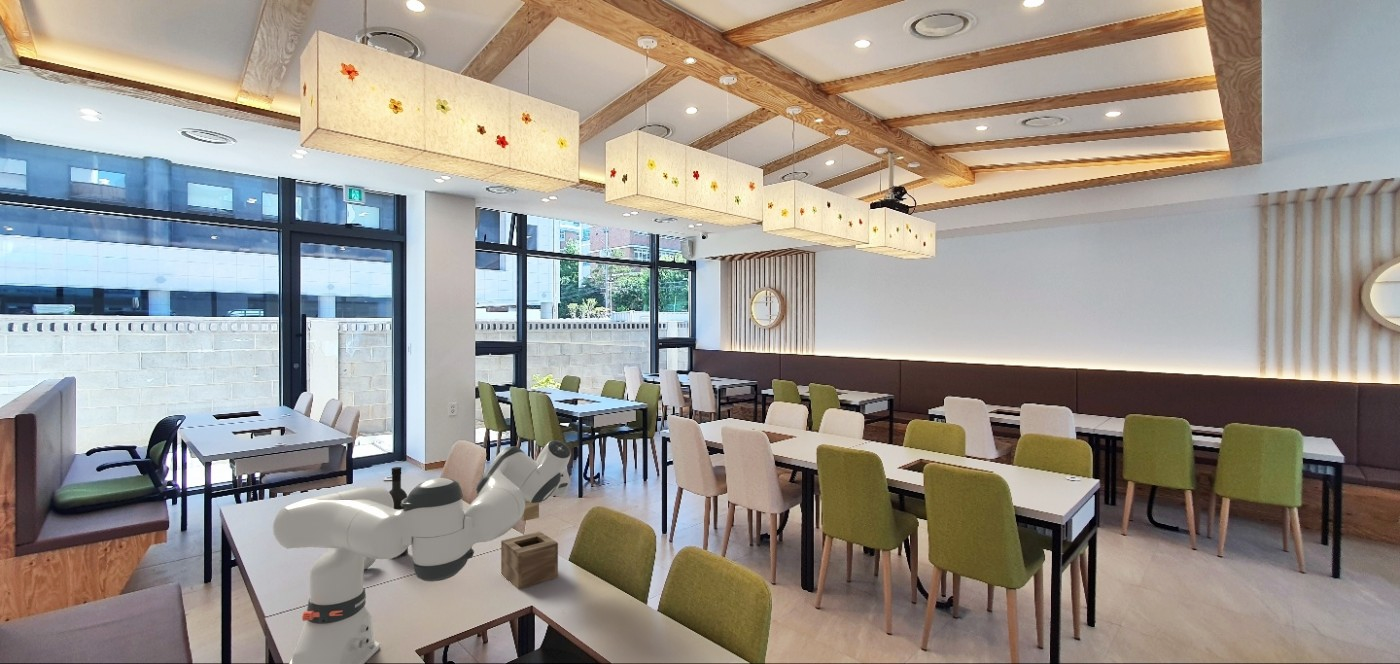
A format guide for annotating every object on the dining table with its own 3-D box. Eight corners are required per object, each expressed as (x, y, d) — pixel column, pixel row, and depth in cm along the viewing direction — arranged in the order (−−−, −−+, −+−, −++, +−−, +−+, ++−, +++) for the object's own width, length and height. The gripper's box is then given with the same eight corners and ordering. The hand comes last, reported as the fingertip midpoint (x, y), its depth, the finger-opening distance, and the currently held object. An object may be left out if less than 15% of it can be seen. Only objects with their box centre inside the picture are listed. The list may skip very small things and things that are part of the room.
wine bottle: (392, 559, 202) (392, 470, 202) (384, 555, 206) (384, 468, 205) (409, 554, 207) (408, 467, 206) (400, 550, 210) (400, 465, 210)
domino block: (539, 517, 190) (539, 492, 190) (523, 521, 187) (523, 495, 187) (534, 515, 192) (534, 490, 192) (519, 518, 189) (519, 493, 189)
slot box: (557, 577, 189) (557, 542, 189) (518, 589, 181) (518, 553, 181) (539, 564, 199) (539, 531, 199) (501, 575, 191) (501, 540, 191)
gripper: (512, 493, 174) (499, 518, 182) (575, 482, 187) (560, 505, 195) (506, 475, 177) (493, 500, 185) (569, 465, 191) (554, 488, 198)
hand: (528, 503), depth 190 cm, fingers closed on domino block, 5 cm apart
